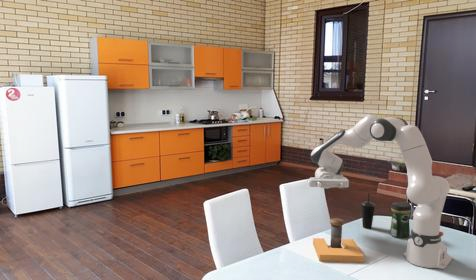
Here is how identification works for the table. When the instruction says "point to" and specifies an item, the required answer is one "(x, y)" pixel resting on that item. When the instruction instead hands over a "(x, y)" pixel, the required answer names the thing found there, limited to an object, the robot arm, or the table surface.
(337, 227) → the cord spool
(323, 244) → the orange notched slab
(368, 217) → the drinking cup
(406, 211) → the coffee jar
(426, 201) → the robot arm
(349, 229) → the table surface
